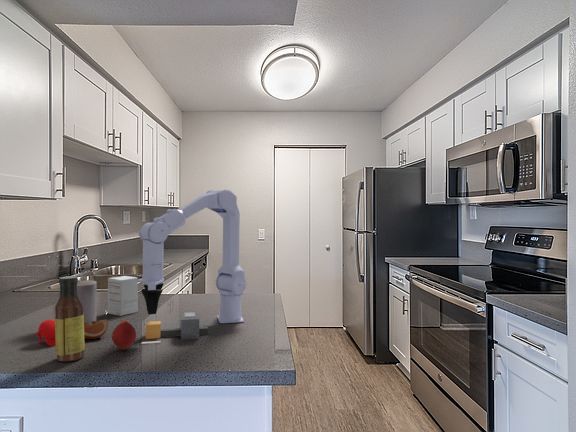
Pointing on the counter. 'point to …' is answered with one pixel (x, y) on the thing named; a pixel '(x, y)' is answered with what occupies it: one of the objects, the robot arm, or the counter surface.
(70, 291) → the sauce bottle
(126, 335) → the red rounded lump
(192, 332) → the housing
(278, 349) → the counter surface
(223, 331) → the counter surface
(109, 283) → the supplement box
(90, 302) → the pillar candle
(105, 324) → the fruit slice
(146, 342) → the white slender bar
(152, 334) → the orange and grey bar
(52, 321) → the cap
